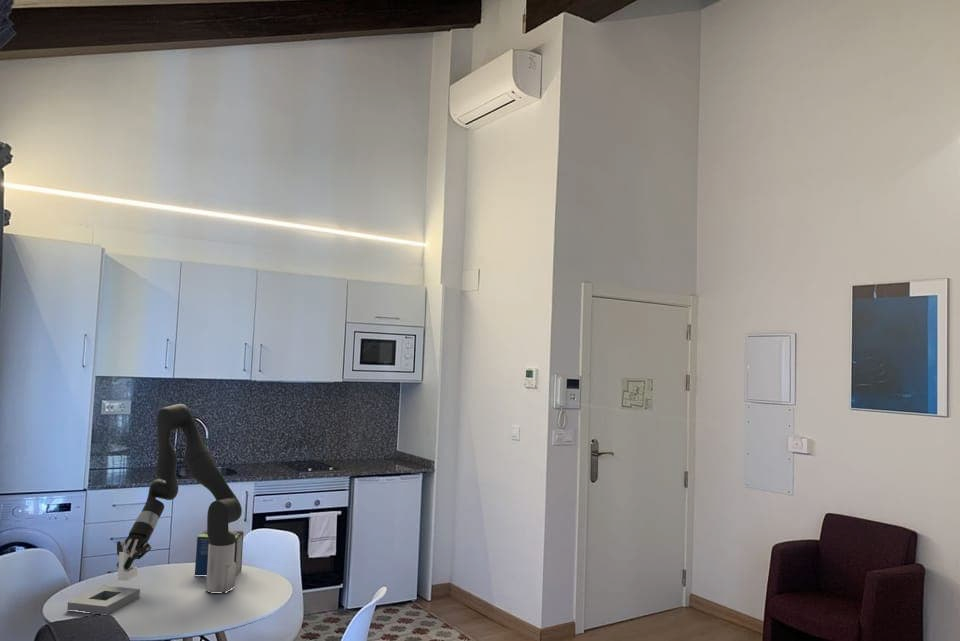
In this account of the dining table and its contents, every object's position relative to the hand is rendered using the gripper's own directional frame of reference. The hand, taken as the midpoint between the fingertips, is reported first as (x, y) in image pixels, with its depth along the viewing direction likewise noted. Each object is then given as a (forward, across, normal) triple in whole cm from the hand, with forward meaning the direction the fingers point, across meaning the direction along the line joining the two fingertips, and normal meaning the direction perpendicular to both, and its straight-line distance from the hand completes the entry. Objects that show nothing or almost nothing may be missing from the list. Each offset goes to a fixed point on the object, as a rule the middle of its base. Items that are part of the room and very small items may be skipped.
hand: (122, 568), depth 262 cm
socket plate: (+16, +4, -4) cm, 17 cm away
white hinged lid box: (+2, +1, +4) cm, 5 cm away
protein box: (-14, +22, +26) cm, 37 cm away
